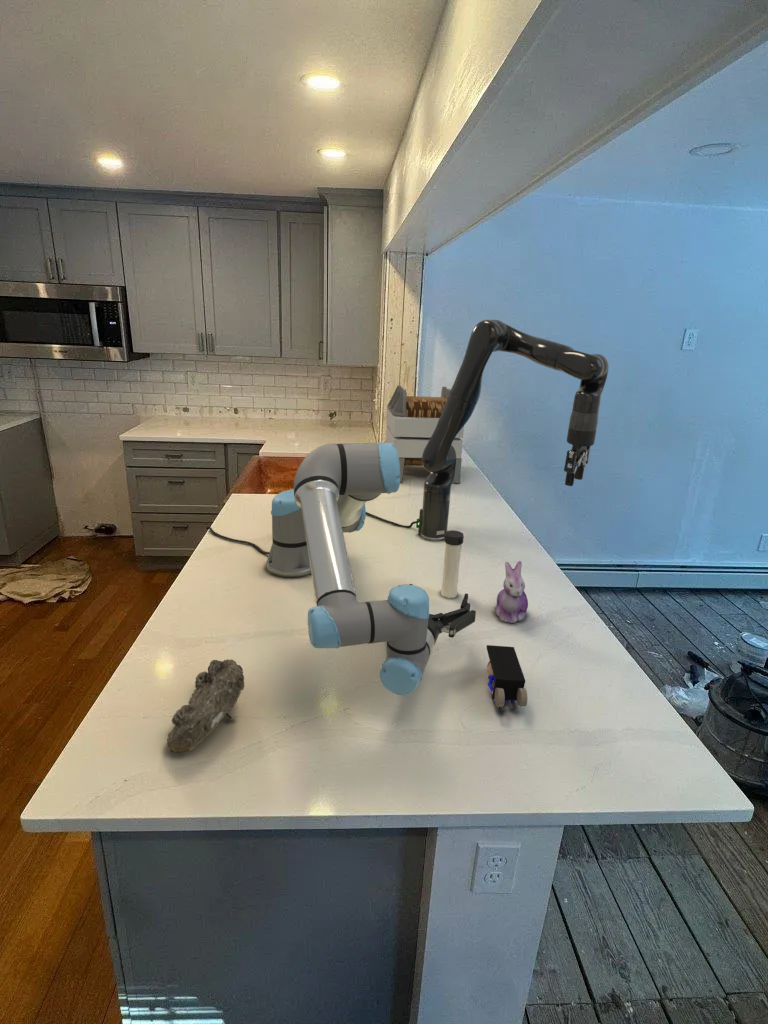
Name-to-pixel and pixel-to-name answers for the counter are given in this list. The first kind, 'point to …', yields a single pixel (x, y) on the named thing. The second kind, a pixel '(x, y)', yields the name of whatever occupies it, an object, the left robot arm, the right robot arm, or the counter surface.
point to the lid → (454, 537)
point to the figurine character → (506, 677)
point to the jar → (451, 570)
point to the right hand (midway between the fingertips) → (573, 482)
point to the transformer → (417, 427)
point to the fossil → (206, 705)
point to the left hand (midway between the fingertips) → (438, 593)
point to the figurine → (512, 596)
